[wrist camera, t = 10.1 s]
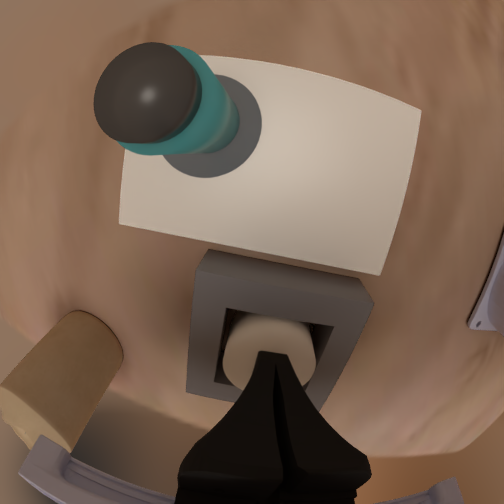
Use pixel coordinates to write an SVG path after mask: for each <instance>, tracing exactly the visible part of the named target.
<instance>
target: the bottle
mask: <svg viewBox="0 0 504 504" xmlns="http://www.w3.org/2000/svg"><path fill="white" fill-rule="evenodd" d="M94 112H95V116H96V119H97V122H98V124H99V126H100V127H101V129H102V130H103V131H104V132H105V133H106V134H107V135H108V136H109V137H111V138H112V139H114V140H116V141H117V142H118V143H119V144H120V145H121V146H123V147H124V148H125V149H127V150H129V151H131V152H134V153H136V154H140V155H149V156H152V155H170V154H198V153H213V152H217V151H219V150H221V149H223V148H225V147H226V146H227V145H228V144H229V143H230V142H231V141H232V140H233V139H234V137H235V136H236V134H237V132H238V129H239V124H240V116H239V112H238V109H237V107H236V105H235V103H234V102H233V100H232V99H231V97H230V96H229V94H228V93H227V92H226V90H225V89H224V87H223V86H222V84H221V83H220V82H219V80H218V79H217V77H216V76H215V75H214V73H213V72H212V70H211V69H210V68H209V66H208V65H207V63H206V62H205V61H204V60H203V59H202V58H201V57H200V56H199V55H198V54H196V53H195V52H193V51H191V50H189V49H187V48H184V47H180V46H174V45H166V44H163V43H155V42H150V43H143V44H139V45H136V46H133V47H131V48H129V49H127V50H125V51H124V52H122V53H121V54H119V55H118V56H117V57H116V58H115V59H113V60H112V61H111V63H110V64H109V65H108V66H107V67H106V69H105V70H104V72H103V73H102V75H101V77H100V79H99V81H98V83H97V86H96V90H95V95H94Z"/></svg>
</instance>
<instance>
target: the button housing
mask: <svg viewBox="0 0 504 504" xmlns="http://www.w3.org/2000/svg"><path fill="white" fill-rule="evenodd" d="M373 306H374V302H373V300H372V298H371V297H370V295H369V294H368V292H367V291H366V289H365V287H364V286H363V284H362V283H361V281H360V280H359V279H358V278H353V277H347V276H342V275H337V274H332V273H327V272H322V271H316V270H311V269H306V268H301V267H296V266H291V265H286V264H281V263H276V262H270V261H265V260H260V259H255V258H250V257H245V256H240V255H235V254H230V253H225V252H220V251H215V250H210V249H208V251H207V253H206V254H205V256H204V257H203V259H202V261H201V262H200V264H199V266H198V267H197V269H196V274H195V283H194V292H193V302H192V313H191V324H190V336H189V349H188V364H187V381H186V392H187V393H191V394H195V395H200V396H204V397H209V398H214V399H218V400H224V401H229V402H234V403H235V402H236V401H237V399H238V398H239V396H240V395H241V393H242V392H243V390H241V389H239V388H238V387H236V386H235V385H234V384H232V383H231V382H230V380H229V379H228V378H227V376H226V374H225V372H224V369H223V357H224V353H222V352H221V347H222V342H223V336H224V330H225V324H226V318H227V313H228V308H231V309H236V310H241V311H246V312H251V313H256V314H262V315H267V316H273V317H278V318H284V319H290V320H296V321H302V322H309V323H315V324H316V325H315V328H314V331H313V333H312V336H311V338H312V343H313V349H314V354H315V359H316V367H315V371H314V373H313V375H312V377H311V378H310V380H309V381H308V382H307V383H306V384H305V385H303V386H302V387H303V388H304V390H305V392H306V394H307V395H308V397H309V399H310V400H311V402H312V403H313V405H314V406H315V408H316V409H317V410H318V412H319V411H320V410H321V408H322V406H323V405H324V403H325V401H326V400H327V398H328V396H329V394H330V393H331V391H332V389H333V387H334V386H335V384H336V382H337V380H338V378H339V377H340V375H341V373H342V371H343V369H344V367H345V365H346V363H347V361H348V359H349V357H350V355H351V353H352V351H353V349H354V347H355V345H356V343H357V341H358V339H359V337H360V335H361V333H362V331H363V328H364V326H365V324H366V322H367V319H368V317H369V315H370V313H371V310H372V308H373Z"/></svg>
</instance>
